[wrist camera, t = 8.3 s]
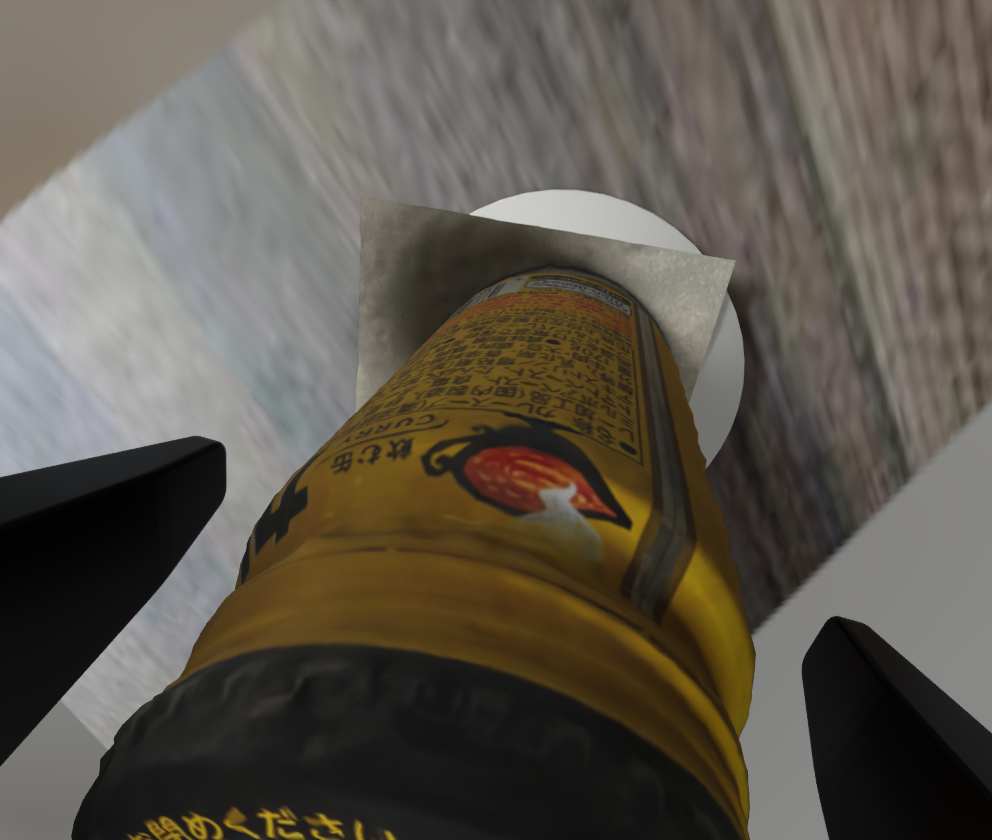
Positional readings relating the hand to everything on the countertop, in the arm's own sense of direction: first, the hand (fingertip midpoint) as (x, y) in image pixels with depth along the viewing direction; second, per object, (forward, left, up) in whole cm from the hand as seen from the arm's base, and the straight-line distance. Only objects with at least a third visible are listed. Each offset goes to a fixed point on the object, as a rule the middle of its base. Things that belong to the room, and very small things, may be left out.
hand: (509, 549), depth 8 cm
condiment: (0, +1, -7) cm, 7 cm away
